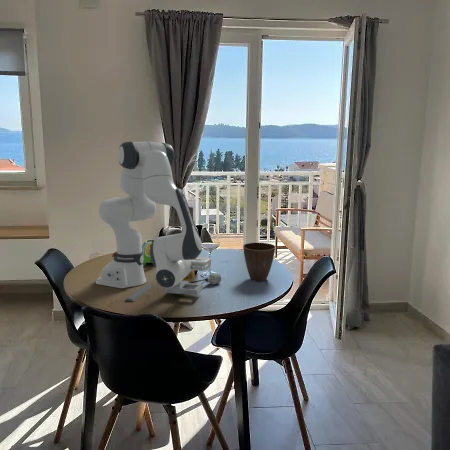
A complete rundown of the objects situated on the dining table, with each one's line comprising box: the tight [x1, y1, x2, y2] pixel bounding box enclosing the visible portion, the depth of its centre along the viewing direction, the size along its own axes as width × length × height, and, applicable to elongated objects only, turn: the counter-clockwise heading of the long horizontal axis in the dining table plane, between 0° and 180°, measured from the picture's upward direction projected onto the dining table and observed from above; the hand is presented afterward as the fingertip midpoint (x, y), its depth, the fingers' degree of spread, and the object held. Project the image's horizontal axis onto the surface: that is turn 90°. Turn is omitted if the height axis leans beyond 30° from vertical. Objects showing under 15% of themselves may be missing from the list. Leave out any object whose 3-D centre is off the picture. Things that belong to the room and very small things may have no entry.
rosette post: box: [163, 280, 204, 296], centre depth 182 cm, size 14×11×22 cm
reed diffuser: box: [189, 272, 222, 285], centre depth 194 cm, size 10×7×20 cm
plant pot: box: [242, 242, 276, 282], centre depth 205 cm, size 15×15×16 cm
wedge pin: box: [184, 270, 196, 280], centre depth 179 cm, size 4×4×14 cm
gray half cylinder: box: [124, 283, 153, 302], centre depth 185 cm, size 4×20×2 cm, turn 167°
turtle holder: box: [142, 239, 154, 266], centre depth 229 cm, size 12×18×12 cm
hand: (190, 257), depth 179 cm, fingers closed on wedge pin, 4 cm apart
